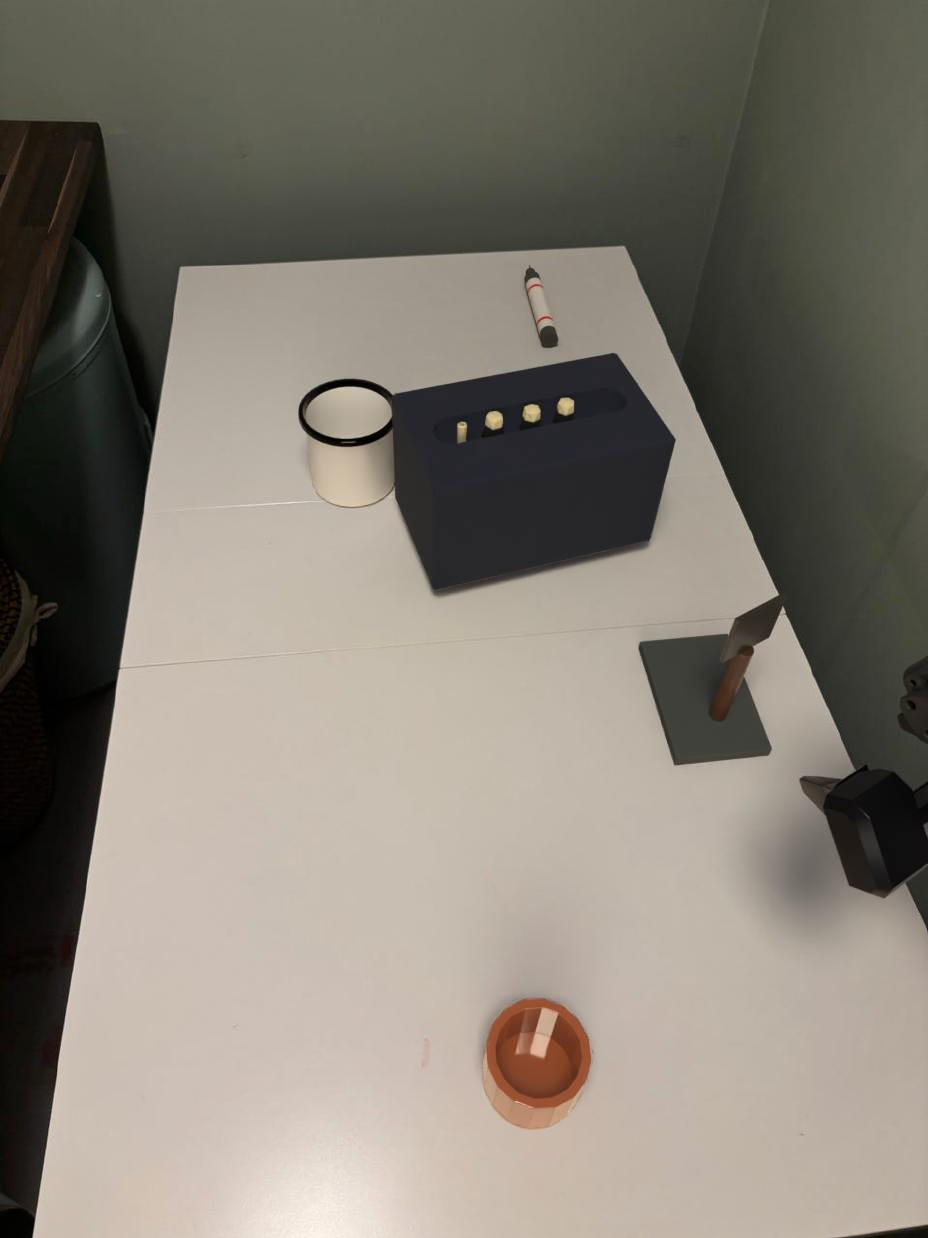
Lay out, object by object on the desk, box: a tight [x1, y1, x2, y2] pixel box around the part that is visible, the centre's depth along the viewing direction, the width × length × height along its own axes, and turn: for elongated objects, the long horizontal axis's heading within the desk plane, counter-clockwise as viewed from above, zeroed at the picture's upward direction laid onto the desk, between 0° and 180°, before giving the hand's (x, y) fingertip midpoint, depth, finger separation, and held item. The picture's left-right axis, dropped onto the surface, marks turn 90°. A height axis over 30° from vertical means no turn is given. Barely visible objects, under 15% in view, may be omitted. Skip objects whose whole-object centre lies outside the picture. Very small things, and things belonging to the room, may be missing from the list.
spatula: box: [709, 592, 788, 722], centre depth 77 cm, size 2×5×14 cm, turn 122°
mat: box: [638, 633, 773, 766], centre depth 84 cm, size 12×8×1 cm, turn 8°
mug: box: [297, 378, 395, 508], centre depth 97 cm, size 12×10×9 cm
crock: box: [482, 997, 592, 1130], centre depth 63 cm, size 6×6×6 cm
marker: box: [523, 264, 559, 348], centre depth 119 cm, size 15×2×2 cm, turn 7°
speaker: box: [391, 352, 677, 591], centre depth 90 cm, size 22×13×15 cm, turn 108°
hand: (852, 751), depth 65 cm, fingers open, 9 cm apart
